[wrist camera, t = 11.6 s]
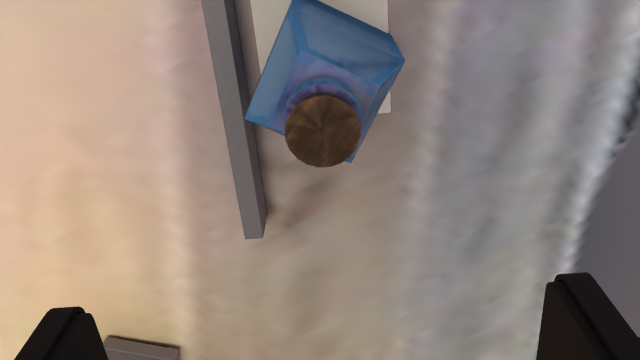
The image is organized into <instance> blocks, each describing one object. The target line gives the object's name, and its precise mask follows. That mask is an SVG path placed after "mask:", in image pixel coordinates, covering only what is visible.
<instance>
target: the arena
mask: <svg viewBox="0 0 640 360" xmlns="http://www.w3.org/2000/svg"><path fill="white" fill-rule="evenodd" d="M201 1H202V6H203V12H204V17H205V23H206V28H207V33H208V39H209V44H210V50H211V55H212V61H213V66H214V72H215V77H216V83H217V88H218V94H219V99H220V105H221V110H222V116H223V121H224V127H225V132H226V138H227V143H228V149H229V154H230V159H231V165H232V170H233V176H234V181H235V187H236V192H237V198H238V203H239V209H240V214H241V220H242V225H243V231H244V236H245V239H255V238H263V235H264V229H265V224H266V218H267V211H266V204H265V198H264V192H263V185H262V179H261V172H260V166H259V160H258V153H257V147H256V140H255V134H254V127H253V122H251V121H248V120H246V119H245V116H246V113H247V111H248V108H249V105H250V102H249V95H248V89H247V83H246V76H245V70H244V63H243V57H242V51H241V44H240V38H239V31H238V25H237V19H236V12H235V6H234V0H201ZM291 1H292V0H250V2H251V9H252V16H253V23H254V31H255V38H256V45H257V52H258V59H259V66H260V73H261V74H262V72H263V69H264V67H265V65H266V62H267V60H268V57H269V55H270V52H271V50H272V48H273V45H274V43H275V40H276V38H277V35H278V33H279V30H280V28H281V26H282V23H283V21H284V18H285V16H286V13H287V11H288V8H289V6H290V4H291ZM319 1H321V2H323V3H325V4H327V5H329V6H331V7H333V8H335V9H338V10H340V11H342V12H344V13H346V14H348V15H350V16H352V17H354V18H357V19H359V20H361V21H363V22H365V23H367V24H369V25H371V26H373V27H375V28H378V29H380V30H382V31H384V32H386V33H388V3H387V0H319ZM382 113H391V104H390V90H389V92H388V94H387V96H386V98H385V100H384V101H383V103H382V105H381V107H380V109H379V111H378V113H377V114H382Z"/></svg>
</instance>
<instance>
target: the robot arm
mask: <svg viewBox="0 0 640 360" xmlns="http://www.w3.org/2000/svg"><path fill="white" fill-rule="evenodd" d="M14 360H109V359H108V357H107V354H106V351H105V348H104V346H103V343H102V340H101V337H100V335H99V332H98V329H97V326H96V323H95V321H94V318H93V316H92V315H91V314H90V313H85V311H84V309H83V308H81V307H65V308H53V309H50V310H49V311H48V312H47V313H46V314H45V316H44V317H43V319H42V320H41V322H40V323H39V324H38V326H37V327H36V329H35V330H34V332H33V333H32V335H31V336H30V337H29V339H28V340H27V342H26V343H25V345H24V346H23V348H22V349H21V351H20V352H19V353H18V355H17V356H16V358H15V359H14ZM536 360H640V337H639V338H638V337H637V336H636V334H635V333H634V332H633V330H632V329H631V328H630V327H629V325H628V324H627V322H626V321H625V320H624V318H623V317H622V316H621V314H620V313H619V312H618V310H617V309H616V308H615V306H614V305H613V304H612V302H611V301H610V300H609V298H608V297H607V296H606V294H605V293H604V292H603V290H602V289H601V287H600V286H599V285H598V284H597V282H596V281H595V279H594V278H593V277H592V276H591V275H590V274H589V273H586V272H585V273H570V274H559V275H557V276H556V277H555V280H554V282H549V283H547V285H546V290H545V298H544V305H543V313H542V320H541V328H540V335H539V343H538V350H537V358H536Z"/></svg>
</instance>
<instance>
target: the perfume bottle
mask: <svg viewBox="0 0 640 360" xmlns="http://www.w3.org/2000/svg"><path fill="white" fill-rule="evenodd" d="M404 62H405V59H404V57H403V56H402V54H401V52H400V50H399V49H398V47H397V45H396V43H395V41H394V40H393V38H392V36H391V35H390V34H388V33H386V32H384V31H382V30H380V29H378V28H375V27H373V26H371V25H369V24H367V23H365V22H363V21H361V20H359V19H357V18H354V17H352V16H350V15H348V14H346V13H344V12H342V11H340V10H338V9H335V8H333V7H331V6H329V5H327V4H325V3H323V2H321V1H319V0H292V1H291V4H290V6H289V8H288V11H287V13H286V16H285V18H284V21H283V23H282V26H281V28H280V30H279V33H278V35H277V38H276V40H275V43H274V45H273V48H272V50H271V52H270V55H269V57H268V60H267V62H266V65H265V67H264V69H263V72H262V74H261V77H260V79H259V82H258V84H257V87H256V89H255V92H254V95H253V97H252V100H251V103H250V105H249V108H248V111H247V113H246V116H245V119H246V120H248V121H251V122H253V123H255V124H258V125H260V126H263V127H265V128H267V129H270V130H272V131H275V132H277V133H279V134H282V135H284V136H285V140H286V142H287V145H288V147H289V149H290V151H291V152H292V153H293V154H294V155H295V156H296V158H297V159H299V160H301V161H302V162H304V163H306V164H307V165H311V166H315V167H331V166H334V165H337V164H340V163H342V162H344V161H347V162H349V163H351V162H352V160H353V158H354V156H355V154H356V152H357V151H358V149H359V147H360V145H361V143H362V141H363V139H364V137H365V135H366V134H367V132H368V130H369V128H370V126H371V124H372V122H373V120H374V118H375V117H376V115H377V113H378V111H379V109H380V107H381V105H382V103H383V101H384V100H385V98H386V96H387V94H388V92H389V90H390V88H391V86H392V84H393V83H394V81H395V79H396V77H397V75H398V73H399V71H400V69H401V67H402V66H403V64H404Z"/></svg>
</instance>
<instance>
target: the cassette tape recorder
mask: <svg viewBox="0 0 640 360" xmlns="http://www.w3.org/2000/svg"><path fill="white" fill-rule="evenodd" d="M103 346H104V348H105V351H106V354H107V357H108V359H109V360H178V356H179V350H177V349H175V348H173V347H168V348H166V347H161V346H155V345H150V344H144V343H139V342H133V341H128V340H122V339H118V338H116V337H112V338H111V337H107V338H106V340H105V341H104V343H103Z"/></svg>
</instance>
